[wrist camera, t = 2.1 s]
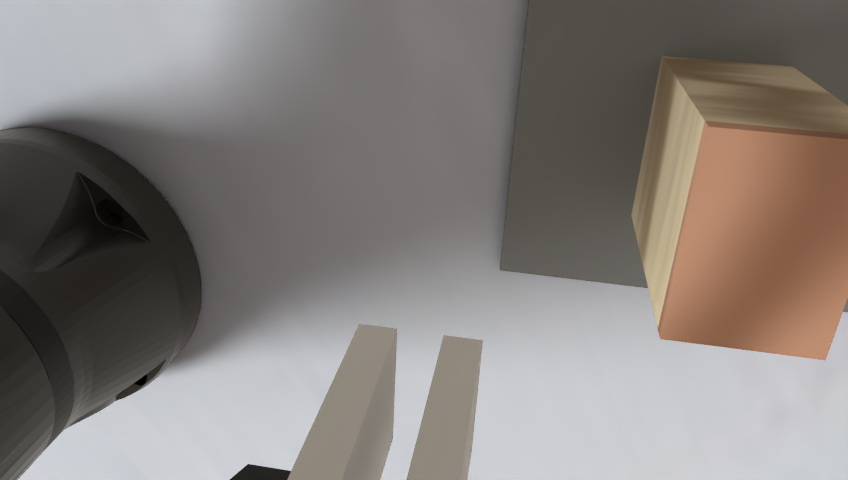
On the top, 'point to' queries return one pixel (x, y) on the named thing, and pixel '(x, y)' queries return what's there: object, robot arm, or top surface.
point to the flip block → (744, 207)
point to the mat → (628, 112)
